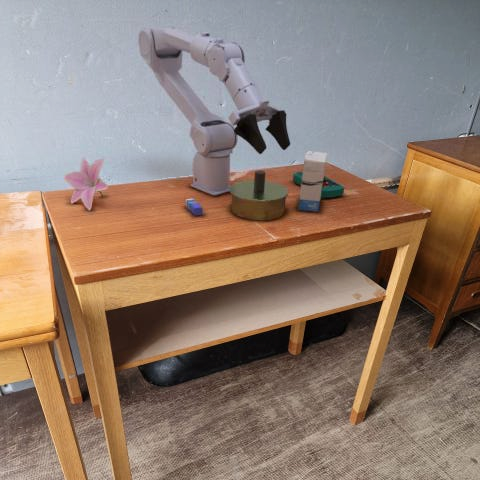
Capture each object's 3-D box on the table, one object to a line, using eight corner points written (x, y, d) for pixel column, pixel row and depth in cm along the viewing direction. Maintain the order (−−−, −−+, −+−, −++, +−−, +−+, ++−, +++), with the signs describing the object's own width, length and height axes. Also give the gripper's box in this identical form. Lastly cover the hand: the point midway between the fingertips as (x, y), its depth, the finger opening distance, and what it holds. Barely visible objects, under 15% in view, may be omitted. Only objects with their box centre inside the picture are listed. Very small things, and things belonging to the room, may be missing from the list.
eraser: (193, 206, 105) (193, 197, 103) (202, 215, 100) (202, 206, 99) (185, 207, 104) (185, 198, 103) (194, 216, 99) (193, 207, 98)
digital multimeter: (320, 200, 111) (321, 189, 109) (291, 181, 122) (292, 171, 120) (344, 197, 113) (346, 186, 112) (314, 179, 124) (315, 168, 123)
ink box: (318, 212, 104) (326, 161, 97) (297, 210, 105) (303, 159, 98) (320, 200, 111) (327, 151, 104) (300, 198, 111) (306, 149, 105)
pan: (220, 208, 104) (220, 190, 101) (256, 196, 111) (257, 179, 109) (258, 225, 97) (260, 205, 94) (294, 211, 104) (296, 193, 102)
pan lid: (217, 192, 102) (217, 170, 99) (257, 180, 110) (258, 159, 107) (260, 209, 94) (261, 186, 91) (300, 195, 102) (302, 173, 99)
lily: (67, 198, 109) (47, 169, 100) (109, 174, 111) (92, 143, 102) (87, 228, 104) (68, 200, 95) (130, 202, 105) (115, 172, 97)
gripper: (230, 81, 88) (262, 140, 87) (278, 80, 96) (308, 133, 96) (213, 106, 93) (243, 162, 92) (260, 103, 102) (288, 153, 101)
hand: (275, 149), depth 94 cm, fingers open, 7 cm apart
